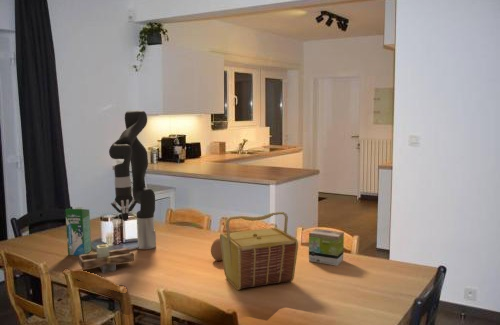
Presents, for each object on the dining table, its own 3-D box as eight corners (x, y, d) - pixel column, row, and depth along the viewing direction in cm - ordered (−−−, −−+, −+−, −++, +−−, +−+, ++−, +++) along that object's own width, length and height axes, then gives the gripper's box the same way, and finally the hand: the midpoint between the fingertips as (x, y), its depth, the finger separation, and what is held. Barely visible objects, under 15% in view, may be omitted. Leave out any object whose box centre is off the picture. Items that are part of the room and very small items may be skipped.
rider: (107, 257, 236) (106, 243, 235) (109, 260, 232) (108, 245, 231) (97, 258, 234) (96, 244, 233) (98, 261, 230) (98, 247, 229)
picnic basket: (276, 267, 231) (275, 205, 228) (301, 285, 208) (300, 217, 204) (218, 275, 221) (216, 211, 217) (237, 296, 197) (235, 224, 194)
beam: (128, 259, 246) (127, 247, 245) (135, 267, 233) (134, 254, 232) (78, 267, 235) (78, 254, 234) (83, 276, 222) (82, 262, 222)
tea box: (308, 262, 239) (308, 232, 237) (315, 256, 247) (315, 228, 246) (337, 266, 232) (338, 236, 230) (343, 260, 240) (344, 231, 239)
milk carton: (91, 250, 263) (89, 205, 260) (84, 255, 254) (81, 208, 251) (75, 250, 264) (73, 205, 261) (67, 255, 255) (65, 208, 252)
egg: (207, 261, 241) (207, 239, 239) (216, 257, 248) (216, 235, 247) (222, 264, 237) (221, 241, 236) (230, 259, 244) (230, 237, 243)
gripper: (134, 183, 240) (136, 217, 242) (107, 185, 234) (109, 220, 236) (138, 185, 233) (140, 220, 235) (110, 188, 227) (113, 224, 229)
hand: (125, 220), depth 236 cm, fingers closed
